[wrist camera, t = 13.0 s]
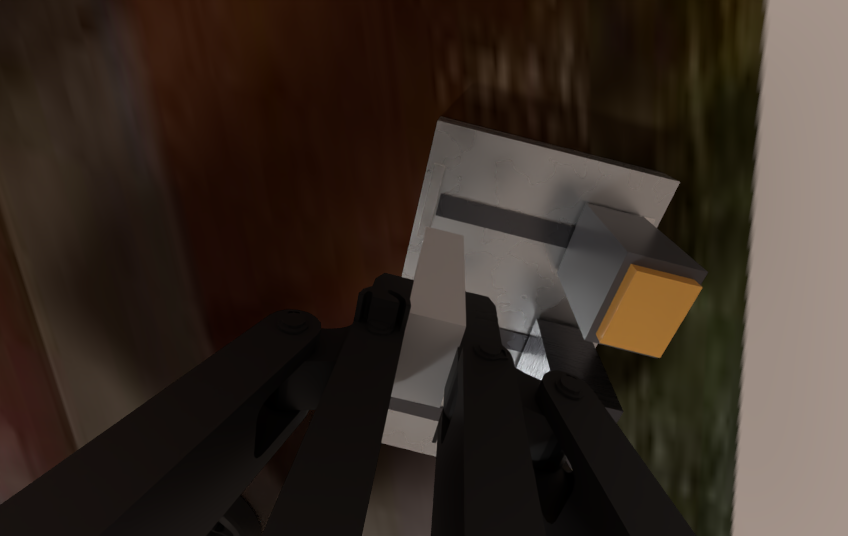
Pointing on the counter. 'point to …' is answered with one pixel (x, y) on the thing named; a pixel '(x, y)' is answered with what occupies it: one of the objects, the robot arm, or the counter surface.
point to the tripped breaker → (627, 281)
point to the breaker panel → (520, 247)
